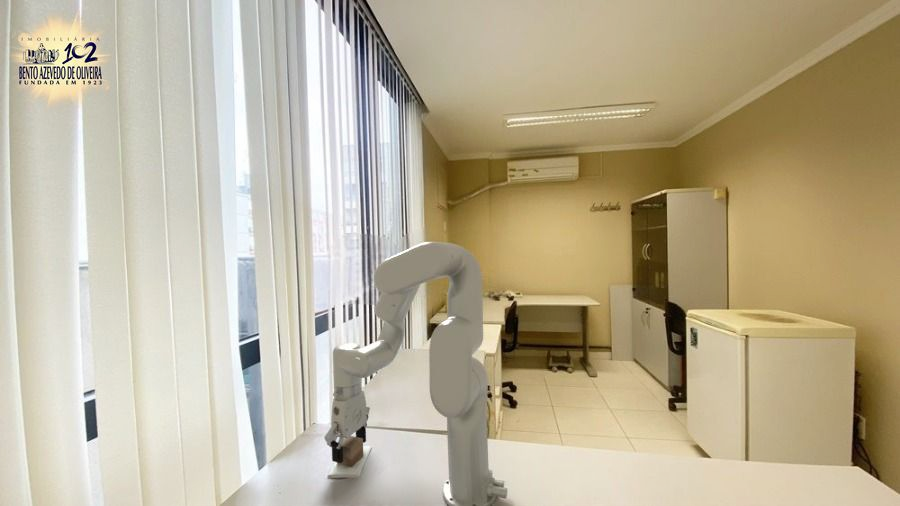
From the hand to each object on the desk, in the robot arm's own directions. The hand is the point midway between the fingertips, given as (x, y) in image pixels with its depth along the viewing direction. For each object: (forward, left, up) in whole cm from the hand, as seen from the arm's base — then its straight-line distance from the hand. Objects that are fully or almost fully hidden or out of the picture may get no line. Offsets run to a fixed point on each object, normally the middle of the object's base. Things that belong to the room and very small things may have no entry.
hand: (350, 451), depth 88 cm
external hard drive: (0, 0, -4) cm, 4 cm away
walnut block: (0, 0, -2) cm, 3 cm away
